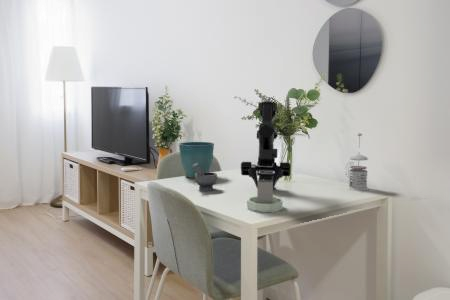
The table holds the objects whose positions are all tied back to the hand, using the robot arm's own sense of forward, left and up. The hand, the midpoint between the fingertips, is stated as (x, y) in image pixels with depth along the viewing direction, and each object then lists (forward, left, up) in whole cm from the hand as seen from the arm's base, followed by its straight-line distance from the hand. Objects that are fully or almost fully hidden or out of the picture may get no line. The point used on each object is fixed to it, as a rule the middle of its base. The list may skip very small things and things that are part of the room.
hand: (265, 187), depth 169 cm
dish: (-1, -1, -8) cm, 8 cm away
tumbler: (-1, -1, -7) cm, 7 cm away
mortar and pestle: (+1, -41, -8) cm, 42 cm away
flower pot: (-12, -70, -8) cm, 71 cm away
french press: (-57, -5, -8) cm, 58 cm away
